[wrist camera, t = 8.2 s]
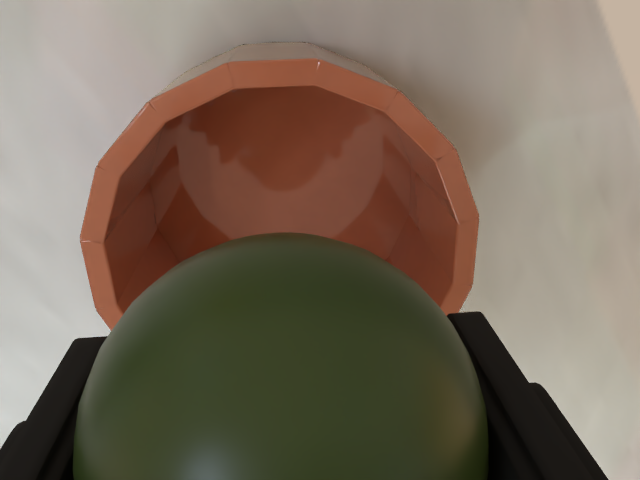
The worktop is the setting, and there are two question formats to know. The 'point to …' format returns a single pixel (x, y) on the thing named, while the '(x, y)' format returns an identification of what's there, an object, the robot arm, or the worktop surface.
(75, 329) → the worktop surface
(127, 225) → the terracotta bowl
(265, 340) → the avocado
